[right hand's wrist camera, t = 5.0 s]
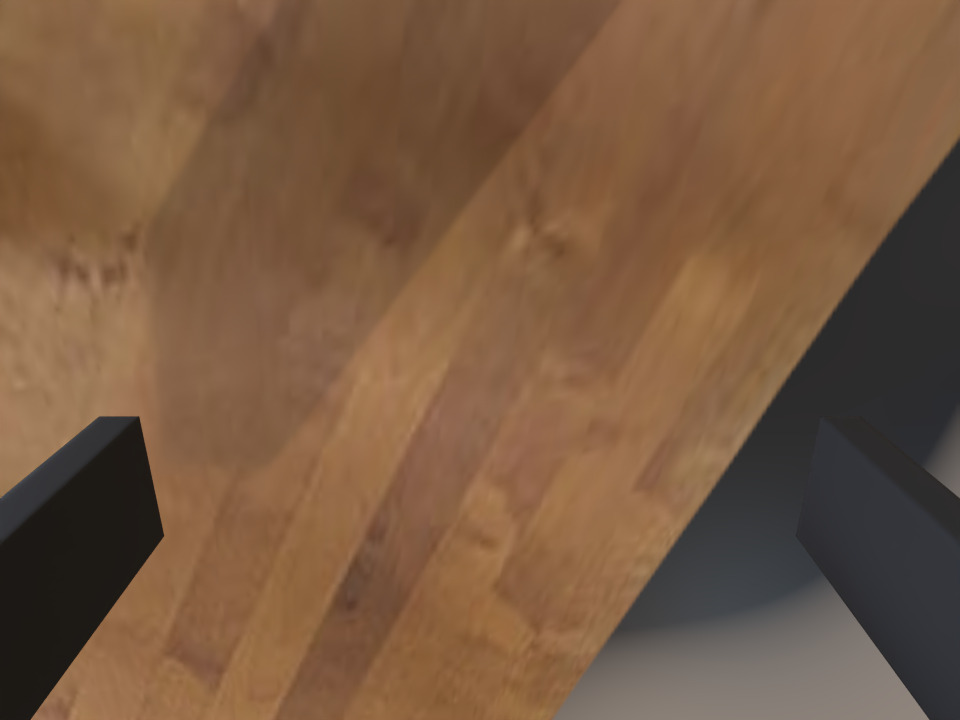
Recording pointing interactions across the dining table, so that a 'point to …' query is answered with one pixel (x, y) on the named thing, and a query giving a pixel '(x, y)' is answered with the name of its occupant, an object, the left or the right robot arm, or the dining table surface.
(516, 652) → the dining table surface
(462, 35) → the dining table surface
